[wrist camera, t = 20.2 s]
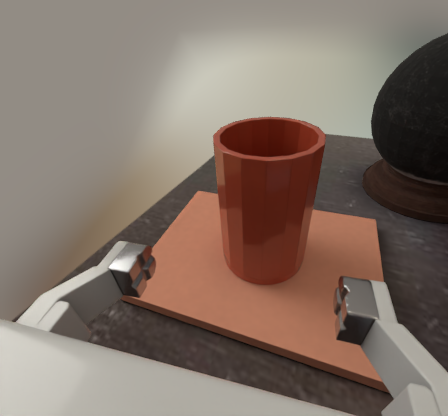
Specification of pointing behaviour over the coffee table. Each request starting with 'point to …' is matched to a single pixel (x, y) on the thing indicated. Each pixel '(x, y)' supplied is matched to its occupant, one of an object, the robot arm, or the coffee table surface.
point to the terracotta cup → (267, 194)
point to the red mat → (266, 288)
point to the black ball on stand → (413, 136)
